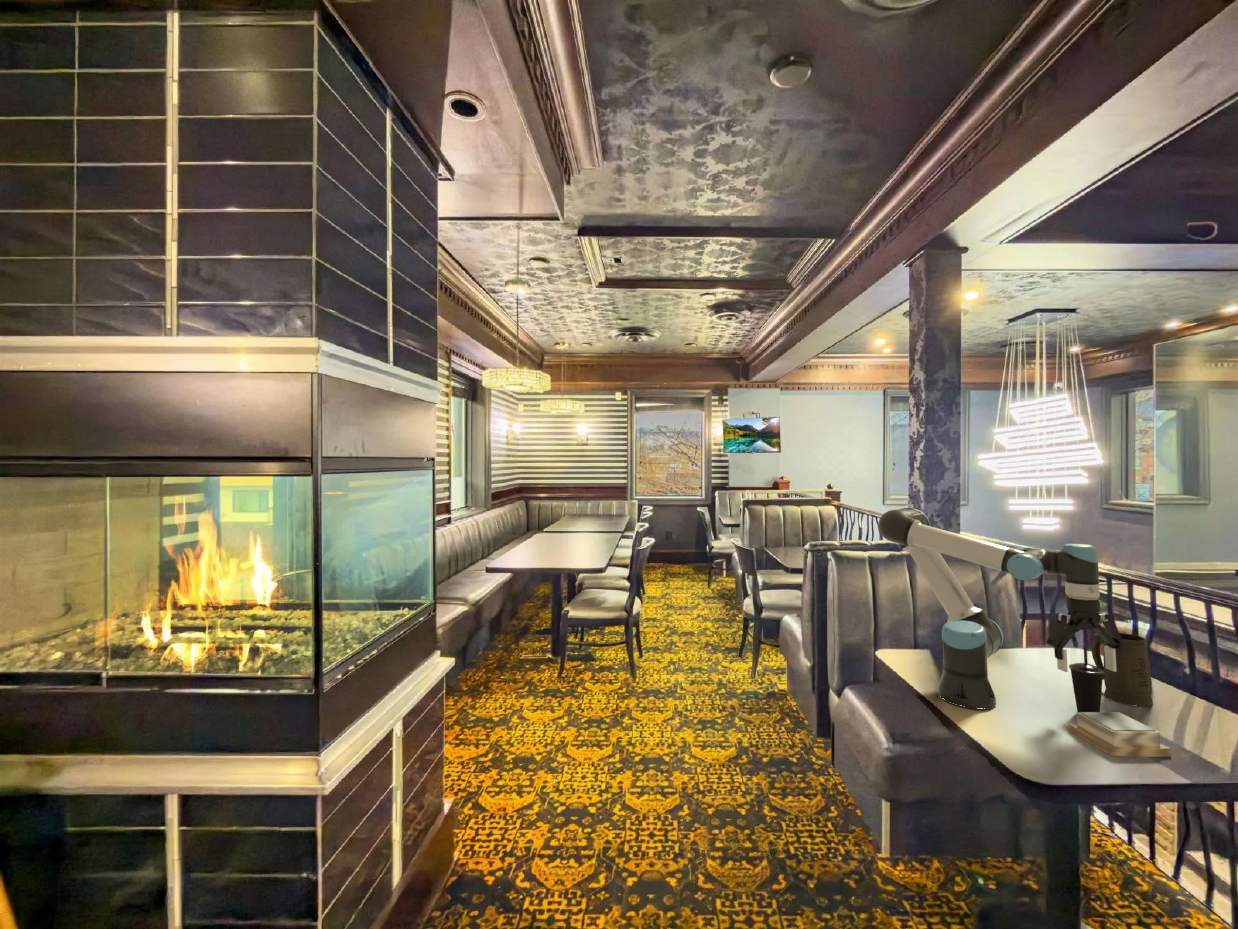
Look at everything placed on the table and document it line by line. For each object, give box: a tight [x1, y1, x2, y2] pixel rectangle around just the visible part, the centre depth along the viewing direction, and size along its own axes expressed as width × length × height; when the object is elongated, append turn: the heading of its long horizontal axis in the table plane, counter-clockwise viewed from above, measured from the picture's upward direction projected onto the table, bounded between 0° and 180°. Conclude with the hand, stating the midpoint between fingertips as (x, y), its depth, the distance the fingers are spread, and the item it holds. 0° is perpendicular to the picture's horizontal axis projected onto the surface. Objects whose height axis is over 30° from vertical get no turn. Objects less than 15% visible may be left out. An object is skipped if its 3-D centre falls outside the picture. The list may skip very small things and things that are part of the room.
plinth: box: [1068, 711, 1172, 758], centre depth 134 cm, size 14×13×6 cm
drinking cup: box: [1068, 645, 1104, 714], centre depth 150 cm, size 8×8×20 cm
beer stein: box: [1090, 632, 1154, 707], centre depth 162 cm, size 15×11×20 cm
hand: (1086, 670), depth 150 cm, fingers open, 13 cm apart
